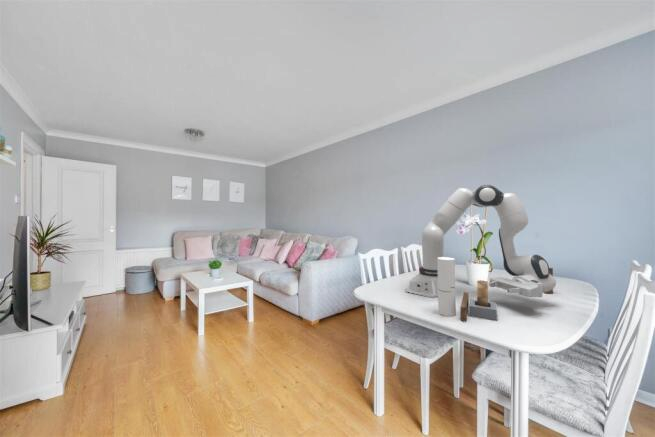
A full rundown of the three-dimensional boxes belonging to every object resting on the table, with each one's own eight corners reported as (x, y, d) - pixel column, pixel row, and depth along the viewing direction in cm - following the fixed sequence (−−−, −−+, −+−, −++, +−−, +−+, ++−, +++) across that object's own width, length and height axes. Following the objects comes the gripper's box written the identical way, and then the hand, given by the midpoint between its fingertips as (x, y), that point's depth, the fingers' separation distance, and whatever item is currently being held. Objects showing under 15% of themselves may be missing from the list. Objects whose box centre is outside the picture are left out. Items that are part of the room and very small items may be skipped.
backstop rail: (460, 320, 104) (460, 306, 104) (464, 304, 123) (463, 292, 123) (466, 321, 103) (466, 307, 103) (468, 304, 122) (468, 292, 122)
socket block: (469, 317, 109) (469, 305, 109) (470, 309, 117) (470, 298, 117) (497, 321, 103) (496, 310, 103) (495, 313, 112) (495, 302, 112)
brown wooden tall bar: (476, 313, 110) (476, 282, 110) (477, 310, 113) (477, 280, 113) (487, 315, 108) (487, 283, 108) (488, 312, 111) (488, 281, 111)
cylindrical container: (459, 315, 110) (458, 259, 110) (446, 317, 108) (445, 260, 108) (447, 309, 117) (446, 256, 117) (434, 311, 115) (433, 257, 115)
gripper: (502, 273, 127) (480, 275, 124) (545, 284, 107) (520, 287, 104) (502, 285, 127) (480, 288, 124) (546, 298, 107) (520, 301, 104)
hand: (499, 287), depth 114 cm, fingers open, 8 cm apart
